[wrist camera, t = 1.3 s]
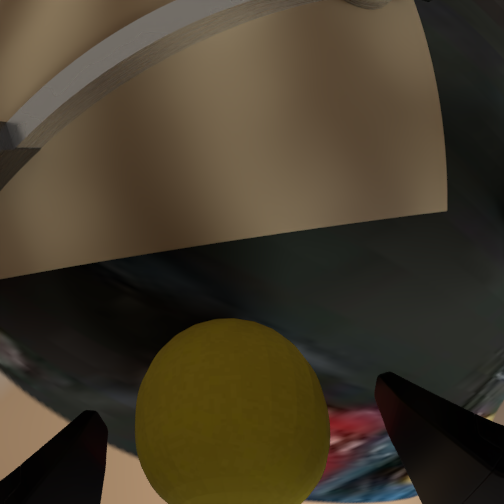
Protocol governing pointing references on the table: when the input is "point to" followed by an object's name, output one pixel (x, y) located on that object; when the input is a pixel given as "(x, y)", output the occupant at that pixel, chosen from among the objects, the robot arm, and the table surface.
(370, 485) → the table surface
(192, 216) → the board
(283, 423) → the lemon
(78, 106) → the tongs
